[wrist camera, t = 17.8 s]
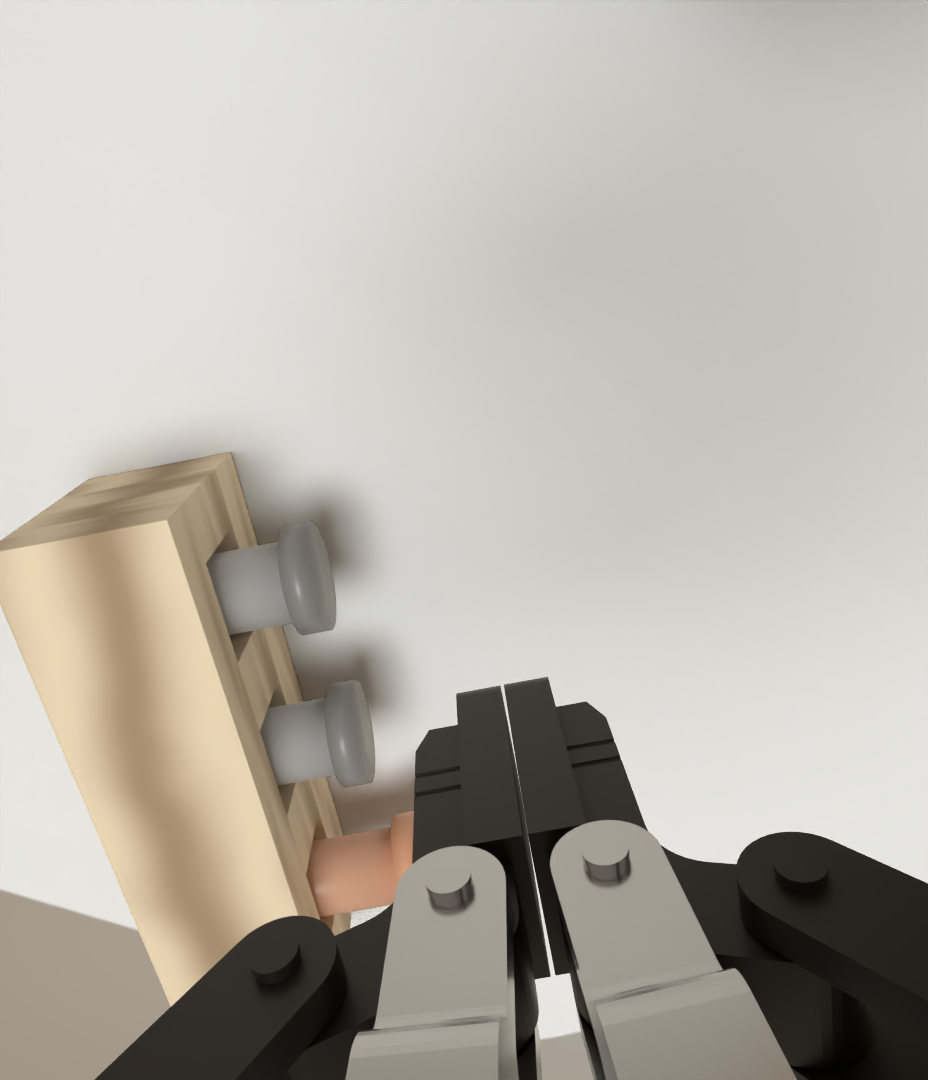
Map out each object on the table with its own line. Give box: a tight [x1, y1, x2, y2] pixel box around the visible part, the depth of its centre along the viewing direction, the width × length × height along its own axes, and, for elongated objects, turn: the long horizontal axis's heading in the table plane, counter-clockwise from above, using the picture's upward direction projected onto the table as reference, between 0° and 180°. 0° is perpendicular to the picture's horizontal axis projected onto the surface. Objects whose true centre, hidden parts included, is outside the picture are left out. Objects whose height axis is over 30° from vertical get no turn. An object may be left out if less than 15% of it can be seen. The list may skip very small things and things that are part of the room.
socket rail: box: [0, 452, 352, 1006], centre depth 39 cm, size 7×26×10 cm, turn 11°
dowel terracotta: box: [306, 810, 414, 917], centre depth 41 cm, size 11×5×5 cm, turn 101°
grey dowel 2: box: [260, 679, 375, 787], centre depth 38 cm, size 11×5×5 cm, turn 101°
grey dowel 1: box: [206, 521, 336, 635], centre depth 36 cm, size 11×5×5 cm, turn 101°
